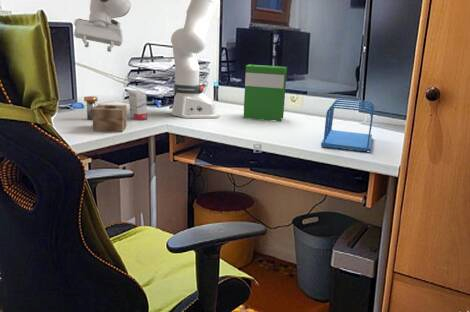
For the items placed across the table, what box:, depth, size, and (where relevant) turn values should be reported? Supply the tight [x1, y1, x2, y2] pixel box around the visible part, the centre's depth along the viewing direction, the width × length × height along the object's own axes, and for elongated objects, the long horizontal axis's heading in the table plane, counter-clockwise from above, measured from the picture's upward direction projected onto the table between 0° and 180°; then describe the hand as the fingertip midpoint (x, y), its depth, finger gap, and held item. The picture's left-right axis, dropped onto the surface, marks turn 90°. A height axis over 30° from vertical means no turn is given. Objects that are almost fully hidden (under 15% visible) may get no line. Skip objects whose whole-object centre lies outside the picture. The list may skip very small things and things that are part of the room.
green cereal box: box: [242, 64, 288, 122], centre depth 218 cm, size 18×7×24 cm, turn 77°
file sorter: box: [320, 98, 375, 152], centre depth 179 cm, size 25×17×15 cm
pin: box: [83, 95, 98, 121], centre depth 200 cm, size 5×5×9 cm
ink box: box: [128, 89, 148, 121], centre depth 206 cm, size 9×5×12 cm, turn 33°
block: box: [92, 104, 128, 133], centre depth 185 cm, size 11×11×8 cm
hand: (98, 48), depth 202 cm, fingers open, 8 cm apart
